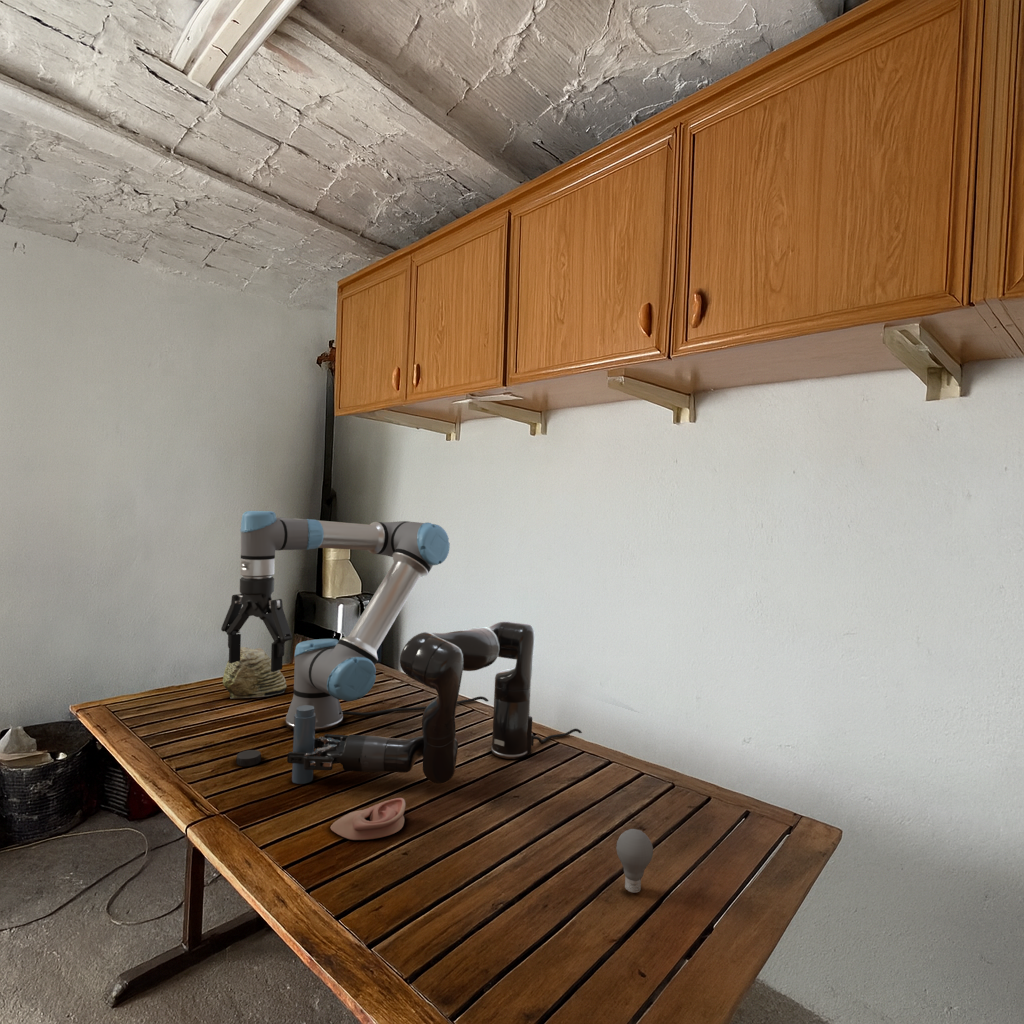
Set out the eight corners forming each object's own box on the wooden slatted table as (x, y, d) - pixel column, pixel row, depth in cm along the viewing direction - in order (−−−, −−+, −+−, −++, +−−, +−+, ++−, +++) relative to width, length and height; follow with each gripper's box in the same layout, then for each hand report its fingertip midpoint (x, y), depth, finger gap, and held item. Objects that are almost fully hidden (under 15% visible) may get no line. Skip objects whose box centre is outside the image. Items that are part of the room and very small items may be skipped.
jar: (312, 783, 140) (315, 710, 140) (290, 784, 139) (293, 711, 138) (313, 774, 144) (316, 704, 144) (292, 775, 143) (295, 704, 143)
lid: (252, 755, 153) (252, 747, 153) (265, 761, 150) (265, 753, 150) (231, 762, 149) (231, 754, 149) (244, 768, 146) (244, 760, 146)
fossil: (218, 695, 195) (220, 647, 195) (278, 685, 208) (279, 640, 207) (228, 703, 189) (230, 653, 188) (289, 692, 201) (290, 645, 201)
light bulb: (610, 879, 108) (613, 822, 108) (644, 879, 109) (647, 822, 109) (619, 902, 102) (622, 840, 102) (655, 901, 103) (658, 840, 103)
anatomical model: (323, 814, 118) (350, 787, 130) (322, 835, 118) (350, 806, 130) (389, 824, 116) (412, 796, 127) (389, 846, 116) (411, 816, 127)
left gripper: (206, 573, 151) (204, 661, 151) (285, 583, 140) (282, 678, 141) (232, 570, 158) (230, 655, 158) (309, 579, 147) (306, 670, 148)
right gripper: (375, 725, 148) (306, 721, 148) (359, 749, 134) (283, 745, 134) (374, 757, 148) (305, 753, 149) (358, 784, 134) (281, 780, 134)
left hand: (255, 666), depth 150 cm, fingers open, 13 cm apart
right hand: (295, 749), depth 141 cm, fingers open, 8 cm apart
